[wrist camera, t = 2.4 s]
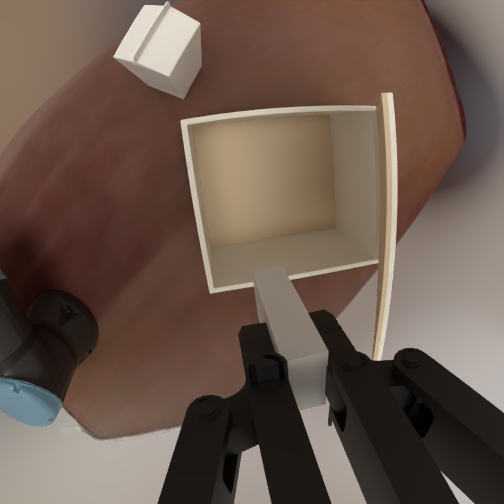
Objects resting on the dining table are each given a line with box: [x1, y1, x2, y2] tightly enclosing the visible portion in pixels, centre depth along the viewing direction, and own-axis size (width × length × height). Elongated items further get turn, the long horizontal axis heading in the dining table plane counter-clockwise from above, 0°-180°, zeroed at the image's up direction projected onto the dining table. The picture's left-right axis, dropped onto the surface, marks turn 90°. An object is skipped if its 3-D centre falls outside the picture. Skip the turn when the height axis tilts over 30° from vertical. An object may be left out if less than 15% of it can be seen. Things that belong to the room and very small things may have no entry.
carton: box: [180, 106, 380, 293], centre depth 40 cm, size 22×20×14 cm
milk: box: [114, 1, 202, 100], centre depth 29 cm, size 6×6×22 cm
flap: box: [372, 93, 397, 361], centre depth 26 cm, size 21×19×1 cm
